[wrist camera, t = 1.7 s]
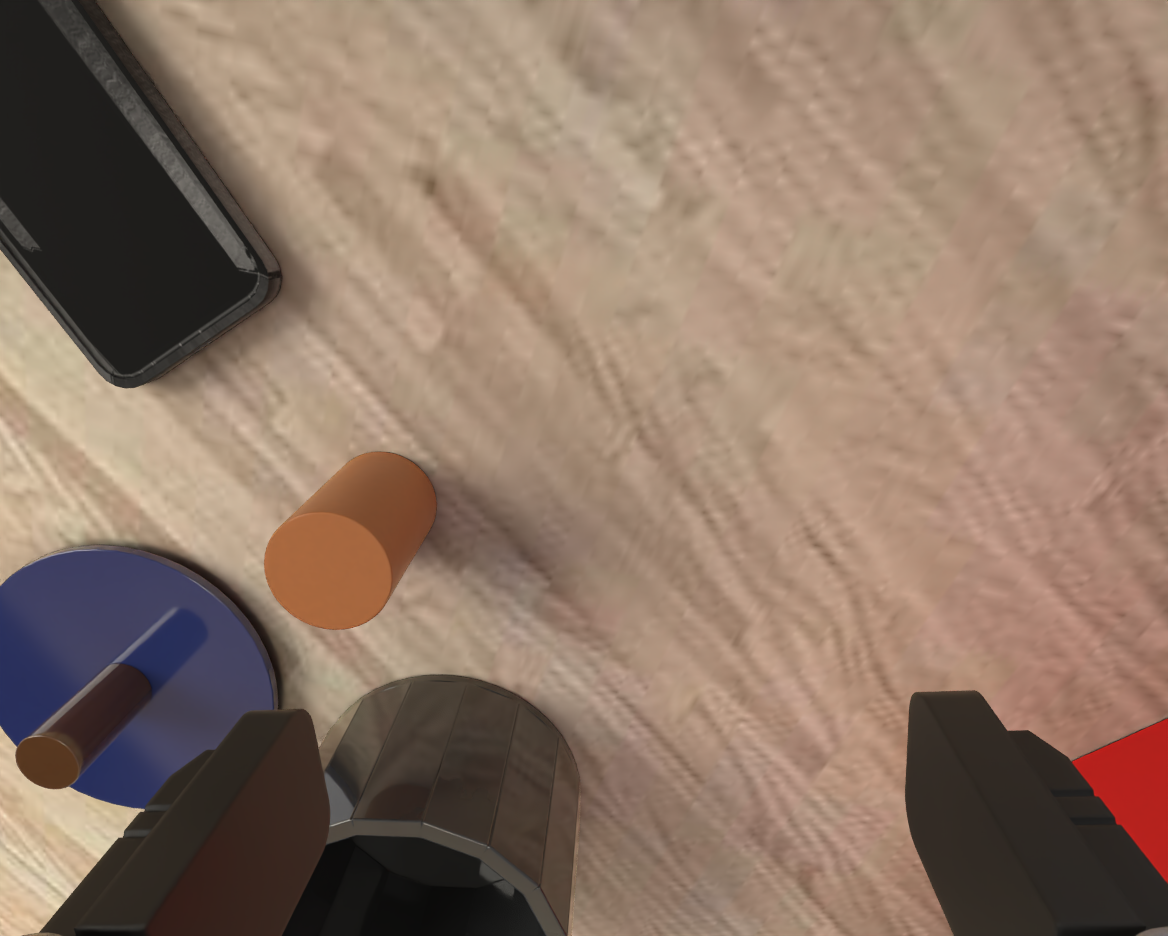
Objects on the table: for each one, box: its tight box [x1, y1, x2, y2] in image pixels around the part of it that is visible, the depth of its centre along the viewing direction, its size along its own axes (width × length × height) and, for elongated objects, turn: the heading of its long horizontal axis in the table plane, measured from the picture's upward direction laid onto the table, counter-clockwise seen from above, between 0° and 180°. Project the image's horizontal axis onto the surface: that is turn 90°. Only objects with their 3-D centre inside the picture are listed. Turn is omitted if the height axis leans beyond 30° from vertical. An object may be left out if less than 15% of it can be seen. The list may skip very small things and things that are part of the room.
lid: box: [0, 545, 278, 809], centre depth 32 cm, size 13×13×6 cm
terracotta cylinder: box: [264, 452, 437, 630], centre depth 29 cm, size 4×4×6 cm
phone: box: [0, 0, 281, 388], centre depth 28 cm, size 8×1×15 cm
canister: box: [282, 675, 581, 936], centre depth 32 cm, size 12×12×8 cm
